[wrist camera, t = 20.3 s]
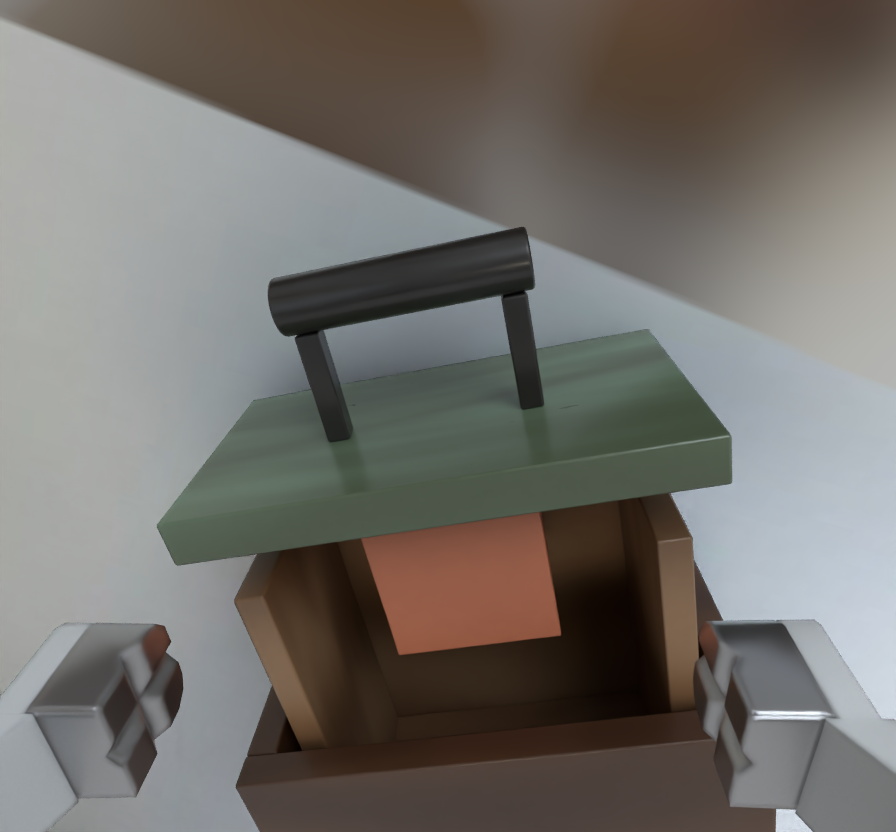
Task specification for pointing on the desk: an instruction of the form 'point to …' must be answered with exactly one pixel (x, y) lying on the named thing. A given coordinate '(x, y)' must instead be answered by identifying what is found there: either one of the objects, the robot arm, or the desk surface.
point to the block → (466, 584)
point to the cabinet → (501, 777)
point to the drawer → (459, 508)
